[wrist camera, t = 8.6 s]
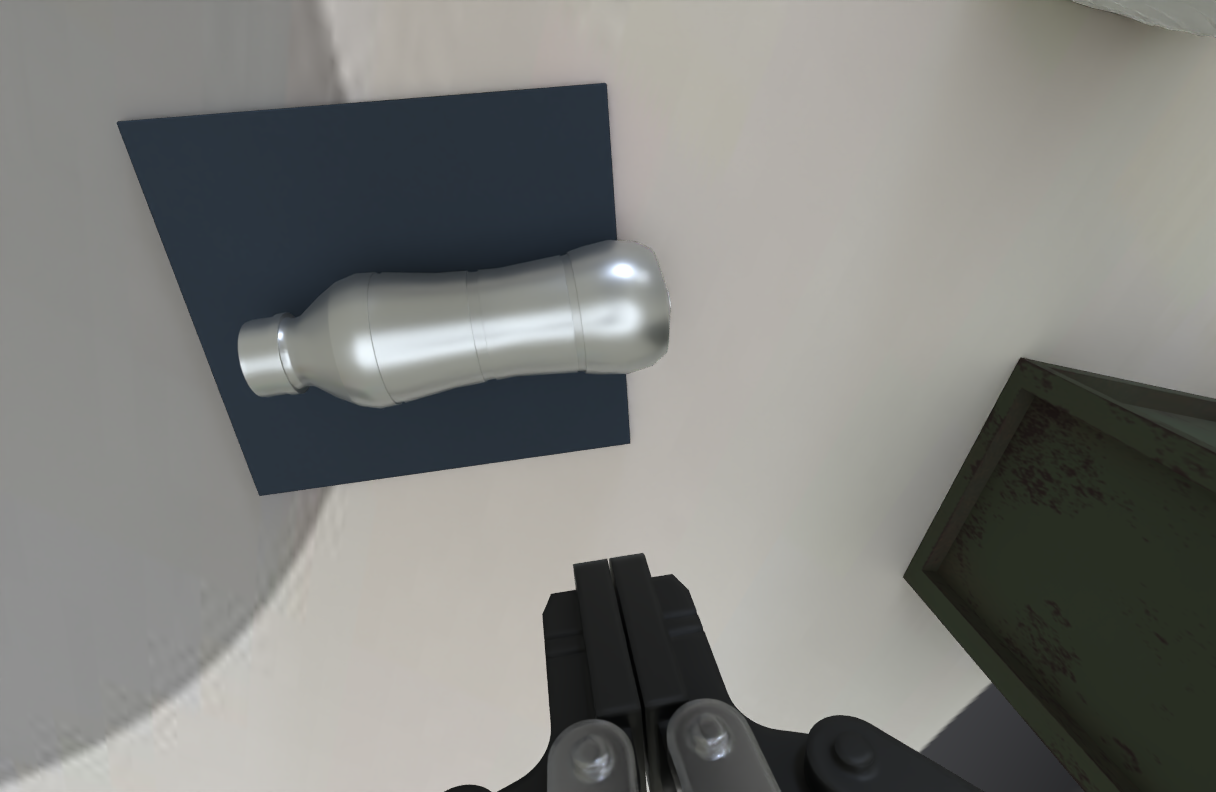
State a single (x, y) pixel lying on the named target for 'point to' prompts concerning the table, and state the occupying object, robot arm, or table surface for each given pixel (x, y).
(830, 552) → the table surface
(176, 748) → the table surface
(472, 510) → the table surface
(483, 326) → the silver bottle
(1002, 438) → the first aid box
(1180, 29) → the paper stack
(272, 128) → the rubber mat
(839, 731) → the robot arm
